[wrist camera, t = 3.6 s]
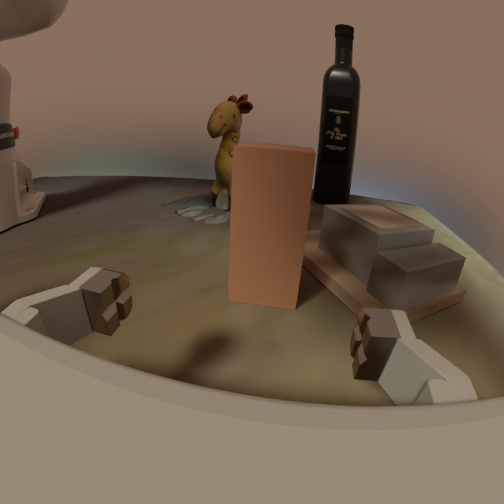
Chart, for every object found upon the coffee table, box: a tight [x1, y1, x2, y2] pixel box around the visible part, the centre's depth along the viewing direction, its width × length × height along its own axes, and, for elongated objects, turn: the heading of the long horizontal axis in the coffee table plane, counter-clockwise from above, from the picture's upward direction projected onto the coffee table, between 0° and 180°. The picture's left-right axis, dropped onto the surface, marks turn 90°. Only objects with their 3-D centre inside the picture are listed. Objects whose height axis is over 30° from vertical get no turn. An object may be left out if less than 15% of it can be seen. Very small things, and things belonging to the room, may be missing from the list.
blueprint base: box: [302, 204, 466, 323], centre depth 24 cm, size 15×11×5 cm
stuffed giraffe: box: [160, 94, 314, 228], centre depth 38 cm, size 16×18×16 cm
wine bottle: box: [313, 24, 360, 205], centre depth 41 cm, size 6×6×30 cm
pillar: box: [228, 142, 315, 310], centre depth 20 cm, size 4×4×10 cm
